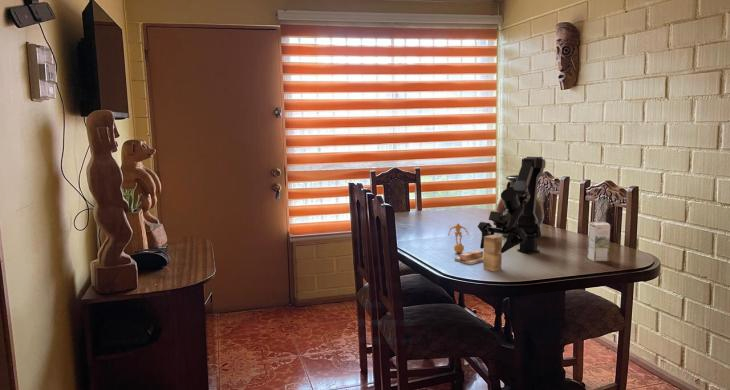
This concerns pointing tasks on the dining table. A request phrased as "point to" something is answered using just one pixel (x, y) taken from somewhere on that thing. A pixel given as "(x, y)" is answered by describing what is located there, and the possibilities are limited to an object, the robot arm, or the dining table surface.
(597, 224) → the syrup box
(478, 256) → the fulcrum
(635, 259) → the dining table surface
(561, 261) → the dining table surface
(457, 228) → the figurine
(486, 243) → the oak post
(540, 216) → the amphora vase
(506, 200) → the robot arm
